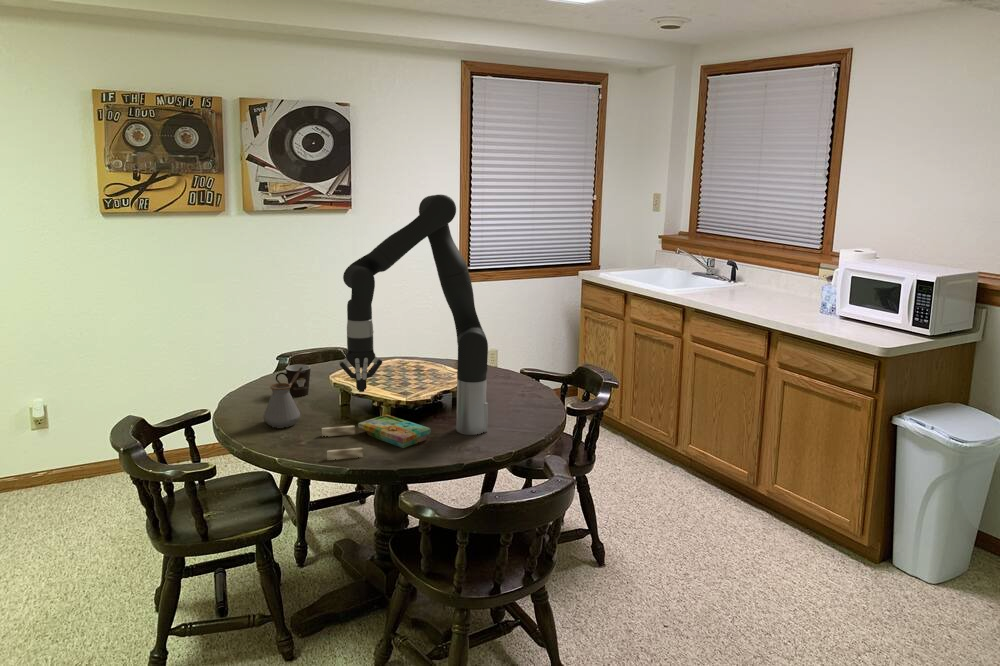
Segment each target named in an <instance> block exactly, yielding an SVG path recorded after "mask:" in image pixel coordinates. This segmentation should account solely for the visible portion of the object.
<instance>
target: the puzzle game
mask: <svg viewBox="0 0 1000 666" xmlns="http://www.w3.org/2000/svg"><path fill="white" fill-rule="evenodd" d="M357 425H358V426H357V427H358V428H359V429H361V430H363V431H366V434H367V435H368V436H369V437H372V438H375V439H377V440H379V441H383V442H385V443H388V444H390V445H393V446H397V447H398V448H402V449H404V448H407V447H410V446H413V445H416V444H418V442H419V443H421V442H423V441H426V440H427V438H429V436H430V434H431V433H432V431H431V430H432V429H431V428H430V427H428V426H424V425H421V424H418V423H415V422H412V421H408V420H405V419H402V418H399V417H396V416H393V415H389V414H387V413H386V414H383V415H381V416H377V417H374V418H370V419H367V420H364V421H360V422H358V423H357Z"/></svg>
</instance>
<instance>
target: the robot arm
mask: <svg viewBox="0 0 1000 666" xmlns="http://www.w3.org/2000/svg"><path fill="white" fill-rule="evenodd" d="M418 213H419V214H418V215H417V216H416V218H414V219H413V220H411V222H409V223H408V224H407V225H405V226H404V227H402V228H401V229H398V230H397V231H396V232H394V233H393V234H391V235H389V236H387V238H385V239H384V240H382V241H381V242H380V243H379V244H378V245H377V246H375V247H374V248H373V249H371V251H370V252H368V253H367V254H365V255H363V256H361V257H360V258H358V259H356V260H355V261H354V262H352V263H351V264H349V266H348V267H346V269H345V270H344V272H343V275H342V279H343V282H344V284H345V286H347V287H348V288H350V289H351V293H350V294H351V295H350V299H349V300H348V301H347V306H346V309H347V311H346V314H347V319H346V346H347V347H346V348H347V350H346V351H347V352H346V354H345V358H344V359H342V360H339V362H338V363H339V366H340V367H341V369H342V370H343V371H344V372H345V373H346V374H347V375H348V377H350V379H354V380H355V387H356V391H358V392H359V393H364V392H365V391H366V390H367V380H368V379H369V378H372V377H373V376H374V375H375V373H376V372H377V371H378V369H380V367H381V365H382V364H383V361H382V359H381V358H379V357H377V356H376V353H375V352H374V324H373V307H372V304H373V299H374V293H375V288H376V280H375V275H377V274H378V273H383V272H386V271H387V270H389V269H390V268H391V267H392V266H394V265H395V263H398V261H399V260H401V259H402V258H403V257H404V256H405V255H406V254H407V253H408V252H409V251H411V249H413V248H414V247H416V245H418V244H419V243H420V242H421V241H423V240H425V239H426V238H428V242H429V245H430V247H431V252H432V253H431V254H432V256H433V259H434V263H435V266H436V271H437V275H438V280H439V282H440V287H441V290H442V293H443V295H444V298H445V301H446V303H447V305H448V307H449V309H450V311H451V314H452V317H453V322H454V327H455V332H456V339H457V340H456V342H457V371H456V381H457V382H456V424H455V425H456V432H458V433H459V434H460V435H461V434H462V435H466V436H476V435H477V434H478V435H481V433H482V434H483V432H484V433H488V416H489V415H488V414H489V412H488V411H489V403H488V402H487V376H488V365H489V364H488V362H489V361H488V359H489V358H488V357H489V343H488V339H487V335H486V334H485V331H484V329H483V327H482V324H481V322H480V320H479V317H478V314H477V311H476V306H475V298H474V297H475V296H474V290H473V284H472V279H471V276H470V272H469V268H468V265H467V263H466V261H465V259H464V257H463V254H462V253H461V252H460V250H459V249H458V247H457V245H456V243H455V241H454V239H453V237H452V234H451V230H450V226H449V223H451V222H452V221H453V219H454V218H455V217H456V215H457V205H456V203H455V201H454V200H453V198H452V197H450V196H448V195H445V194H433V195H428V196H426V197H424V198H423V199H421V202H420V203H419V206H418ZM372 363H373V364H372ZM349 364H350V365H351V366H352V368H354V372H353V371H352V370H351V369H350V368H349ZM371 364H372V366H371V367H370V365H371ZM368 367H370V368H369V370H368Z"/></svg>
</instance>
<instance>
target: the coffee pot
mask: <svg viewBox="0 0 1000 666" xmlns="http://www.w3.org/2000/svg"><path fill="white" fill-rule="evenodd" d="M302 369H304V368H302V367H301V368H300V369H299V370H298V371H297V373H296V374H295V375H294V377H293V379H292V380H291V382H290V384H288V382H280V383H278V382H277V383H274V384H270V386H269V388H270V389H271V396H270V398H269V400H268V403H267V405H266V407H265V411H264V413H263V415H262V418H263V420H264V422H265V423H266V424H267V425H269V426H270V425H271V426H272V427H271V426H270V427H271V428H274V427H277V428H276V429H284V427H286V428H290V427H293V426H294V425H295V423H297V422H298V421H299V419H300V417H301V413H300V410H299V408H298V407H297V405H296V402H295V401H294V398H293V397H292V396H291V394H290V391H289V390H290V388H291V385H292V384H293V383H294V381H295V380H296V379H297V378H298V375H299V374H300V373H301V371H302ZM304 370H305V369H304ZM289 426H290V427H289Z"/></svg>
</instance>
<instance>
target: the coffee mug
mask: <svg viewBox="0 0 1000 666" xmlns="http://www.w3.org/2000/svg"><path fill="white" fill-rule="evenodd" d="M301 367H302V368H304V369H305V370H304V369H302V371H301V373H300V374H299V375H298V378H297V379H296V380H295V381H294V383H293V384H292V385H291V388H290V390H289V392H290V394H291V396H294V398H302V396H303V397H306V395H307V396H308V395H309V389H310V377H311V369H312V368H311V366H310V365H308V364H292V365H287V366H286V367H285V372H279V373H277V374H276V375H275V380H276V382H277V383H281V382H280V381H279V380H278V378H279V376H280V375H284V376H285V378H287V379H286V380H287V383H288V384H290V382H291V380H292V379H293V377H294V375H295V374H296V373H297V371H298V370H299V369H300V368H301Z"/></svg>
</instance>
